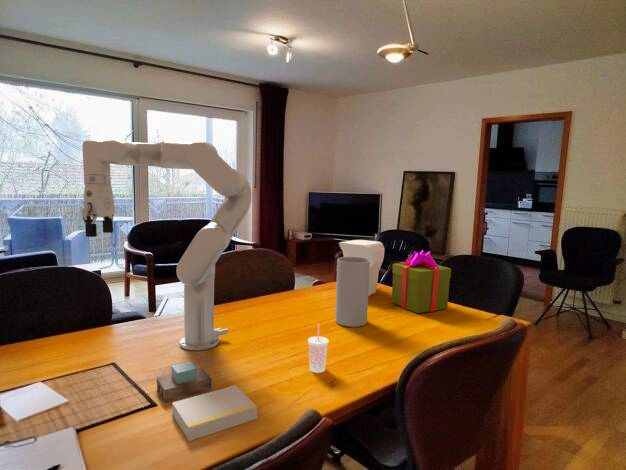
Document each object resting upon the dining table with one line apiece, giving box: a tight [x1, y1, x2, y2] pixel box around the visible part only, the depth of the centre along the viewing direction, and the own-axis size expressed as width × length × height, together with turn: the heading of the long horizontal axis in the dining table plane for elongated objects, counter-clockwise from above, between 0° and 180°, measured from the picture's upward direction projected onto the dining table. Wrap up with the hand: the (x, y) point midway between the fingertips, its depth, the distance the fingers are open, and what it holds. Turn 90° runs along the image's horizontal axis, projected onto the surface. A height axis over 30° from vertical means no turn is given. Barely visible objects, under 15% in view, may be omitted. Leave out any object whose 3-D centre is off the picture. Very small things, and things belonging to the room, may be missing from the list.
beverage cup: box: [307, 322, 330, 374], centre depth 125 cm, size 6×6×14 cm
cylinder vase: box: [334, 256, 370, 328], centre depth 166 cm, size 12×12×25 cm
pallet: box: [156, 367, 213, 403], centre depth 111 cm, size 12×8×4 cm, turn 124°
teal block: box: [170, 361, 198, 384], centre depth 111 cm, size 5×5×3 cm
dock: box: [171, 385, 258, 442], centre depth 99 cm, size 16×12×3 cm
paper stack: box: [337, 239, 386, 297], centre depth 209 cm, size 21×27×26 cm
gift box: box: [391, 249, 452, 314], centre depth 189 cm, size 21×21×25 cm
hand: (100, 234), depth 136 cm, fingers open, 9 cm apart
